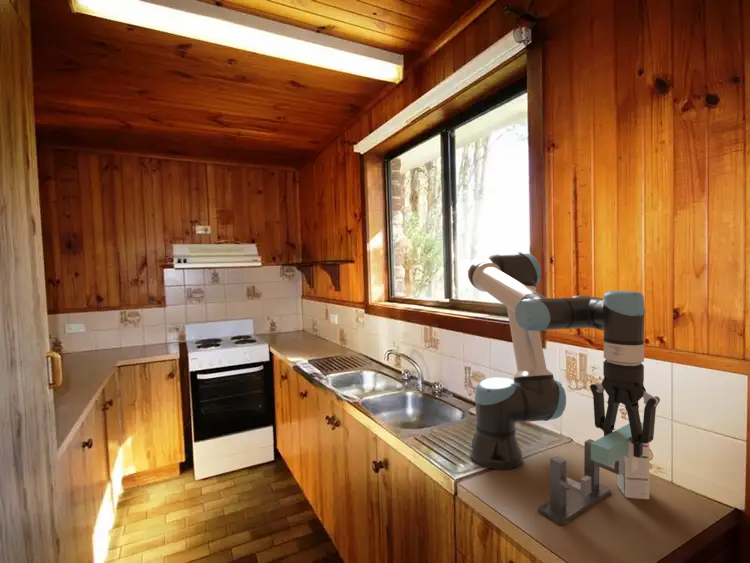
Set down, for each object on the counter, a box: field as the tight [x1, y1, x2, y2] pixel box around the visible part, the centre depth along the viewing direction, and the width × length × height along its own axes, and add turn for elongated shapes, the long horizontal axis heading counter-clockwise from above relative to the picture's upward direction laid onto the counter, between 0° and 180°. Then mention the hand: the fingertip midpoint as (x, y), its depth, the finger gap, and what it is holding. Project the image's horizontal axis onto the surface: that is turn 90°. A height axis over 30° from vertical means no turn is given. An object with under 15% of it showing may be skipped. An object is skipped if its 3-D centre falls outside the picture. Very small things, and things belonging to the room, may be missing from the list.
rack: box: [537, 438, 624, 527], centre depth 94 cm, size 10×22×13 cm, turn 123°
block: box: [591, 421, 646, 466], centre depth 87 cm, size 4×20×4 cm, turn 124°
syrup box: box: [615, 442, 651, 500], centre depth 99 cm, size 6×6×14 cm
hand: (622, 465), depth 87 cm, fingers closed on block, 3 cm apart
